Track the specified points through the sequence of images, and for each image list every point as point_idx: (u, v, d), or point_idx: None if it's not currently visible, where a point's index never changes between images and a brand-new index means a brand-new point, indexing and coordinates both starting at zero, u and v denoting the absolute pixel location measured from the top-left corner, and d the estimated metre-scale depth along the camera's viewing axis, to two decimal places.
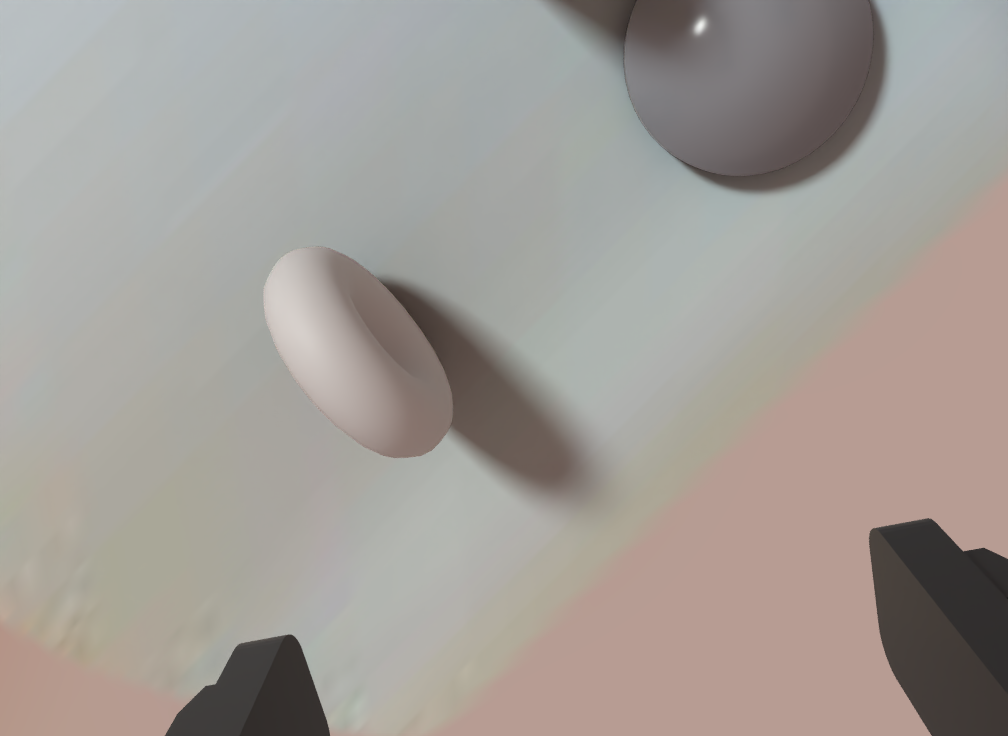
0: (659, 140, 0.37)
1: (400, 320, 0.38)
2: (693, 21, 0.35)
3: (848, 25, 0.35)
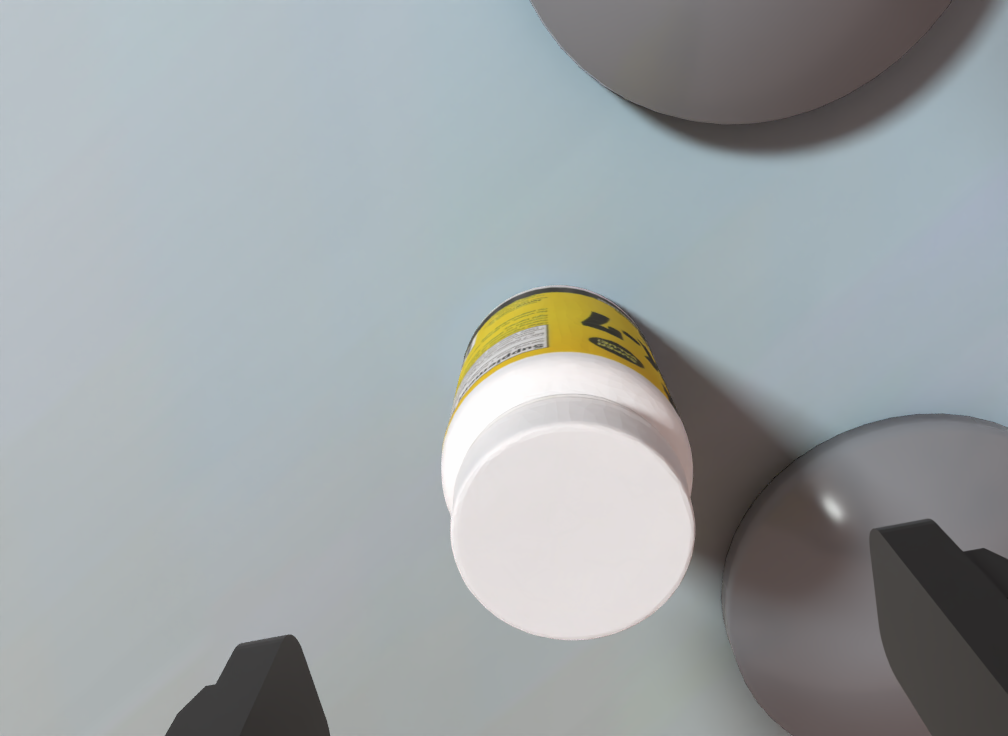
0: (777, 720, 0.24)
1: None
2: (840, 571, 0.22)
3: None
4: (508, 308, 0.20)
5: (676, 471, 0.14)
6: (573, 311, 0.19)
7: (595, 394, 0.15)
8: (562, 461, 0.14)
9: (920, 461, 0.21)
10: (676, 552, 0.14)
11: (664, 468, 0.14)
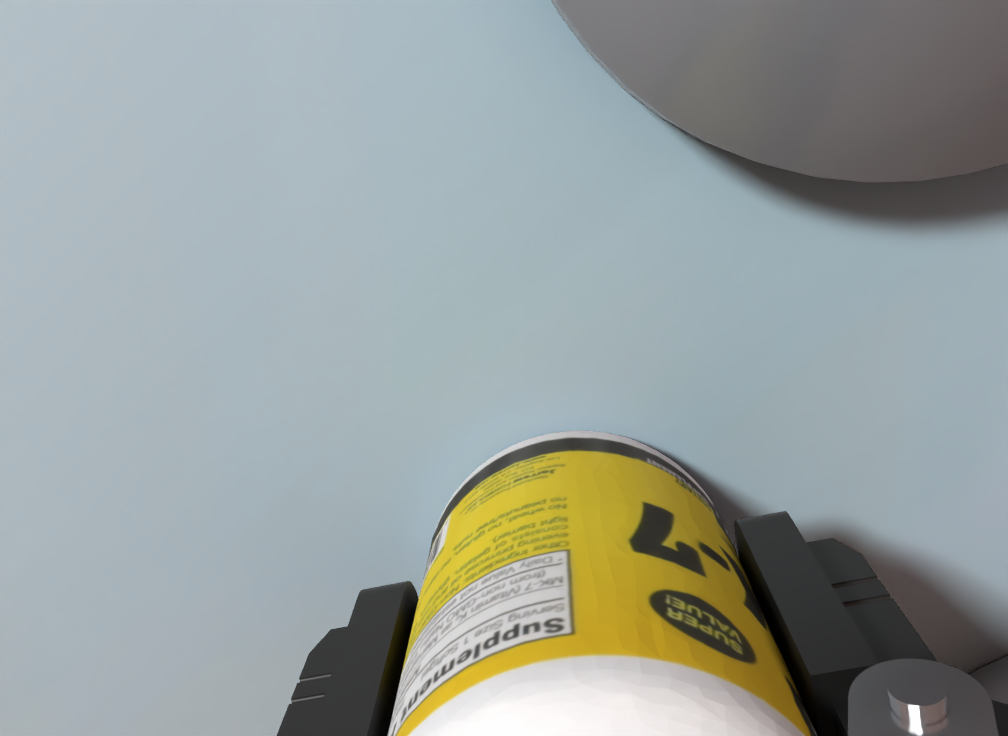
0: None
1: None
2: None
3: None
4: (500, 480, 0.12)
5: None
6: (612, 506, 0.11)
7: None
8: None
9: None
10: None
11: None
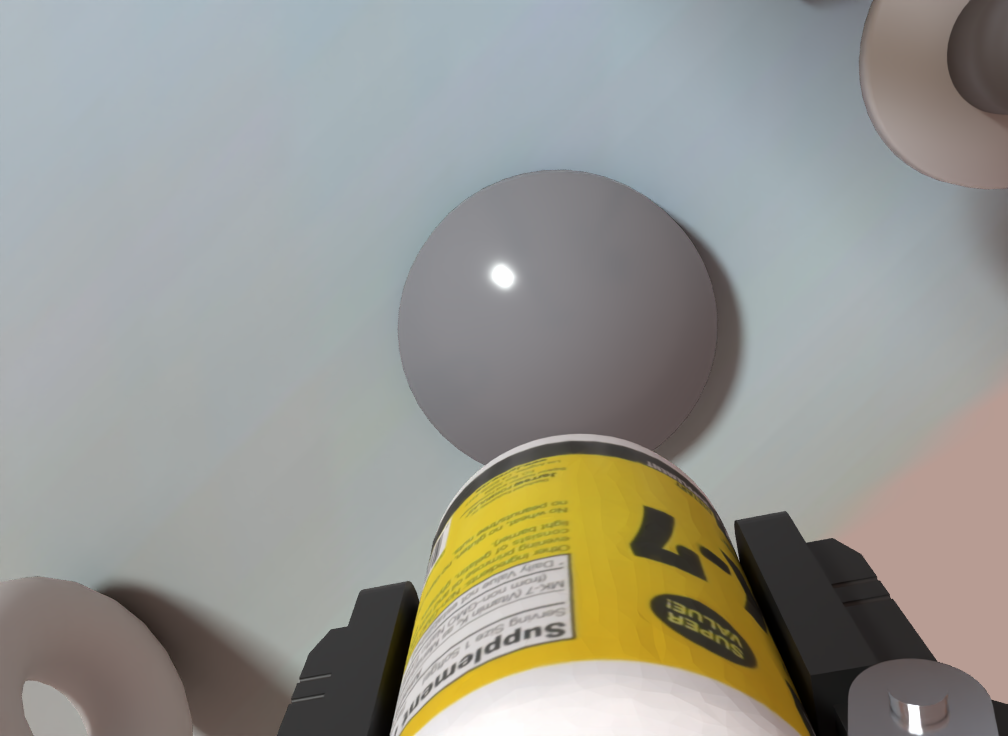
0: (449, 439, 0.29)
1: (126, 656, 0.30)
2: (481, 299, 0.27)
3: (684, 306, 0.27)
4: (501, 483, 0.12)
5: None
6: (613, 509, 0.11)
7: None
8: None
9: (533, 199, 0.26)
10: None
11: None
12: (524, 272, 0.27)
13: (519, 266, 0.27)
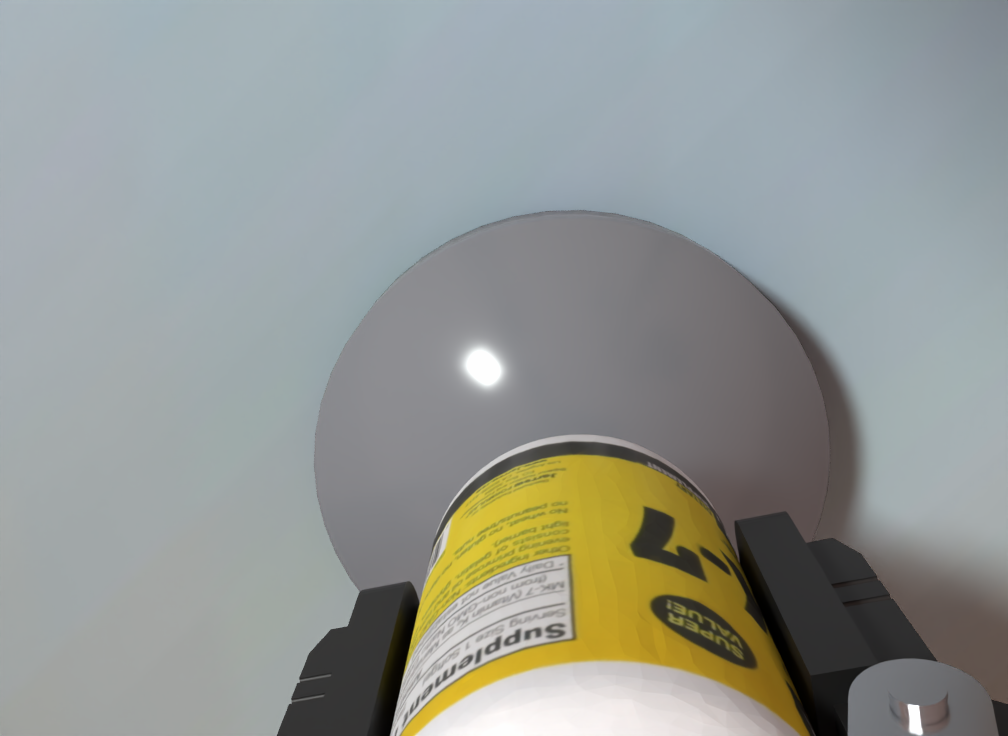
0: None
1: None
2: (448, 420, 0.17)
3: (776, 432, 0.17)
4: (501, 484, 0.12)
5: None
6: (613, 509, 0.11)
7: None
8: None
9: (531, 262, 0.16)
10: None
11: None
12: (517, 379, 0.16)
13: (509, 369, 0.16)
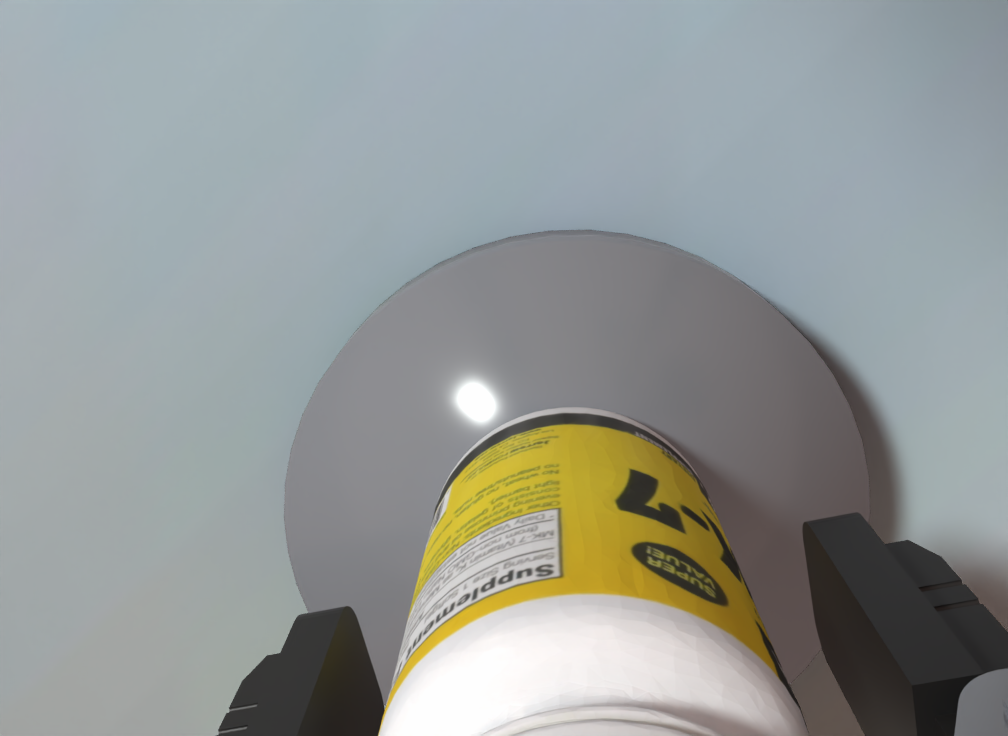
0: None
1: None
2: (436, 468, 0.15)
3: (809, 482, 0.15)
4: (498, 451, 0.13)
5: None
6: (601, 471, 0.12)
7: (648, 690, 0.08)
8: None
9: (530, 290, 0.14)
10: None
11: None
12: None
13: (505, 411, 0.14)
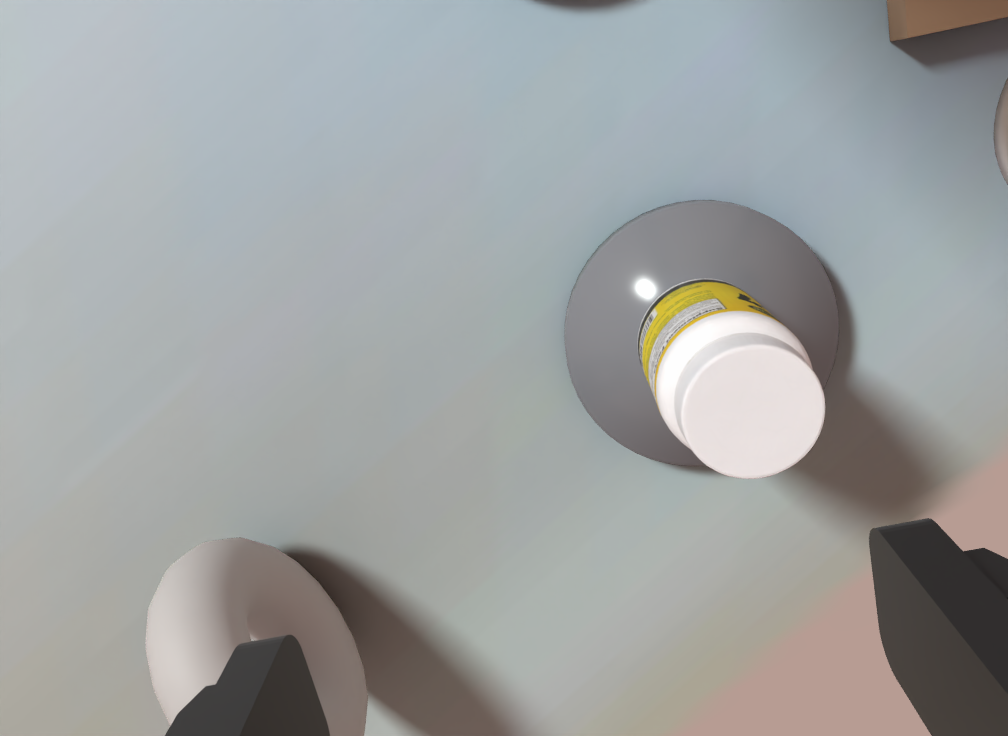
0: (602, 426, 0.33)
1: (312, 609, 0.35)
2: (639, 308, 0.32)
3: (811, 318, 0.32)
4: (678, 291, 0.30)
5: None
6: (728, 291, 0.29)
7: None
8: (751, 366, 0.24)
9: (689, 225, 0.31)
10: (813, 423, 0.24)
11: (810, 372, 0.24)
12: None
13: (674, 281, 0.32)
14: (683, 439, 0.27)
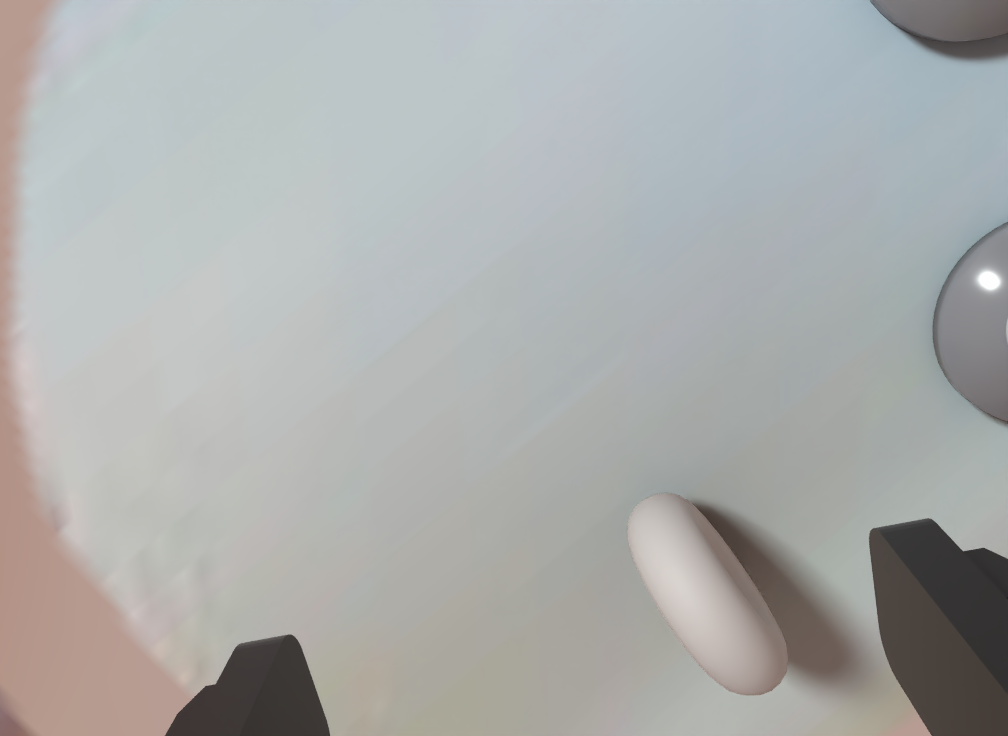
0: (966, 395, 0.41)
1: (722, 550, 0.42)
2: None
3: None
4: None
5: None
6: None
7: None
8: None
9: None
10: None
11: None
12: None
13: None
14: None
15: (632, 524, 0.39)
